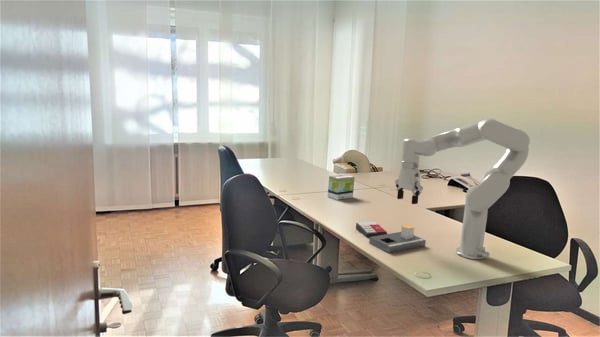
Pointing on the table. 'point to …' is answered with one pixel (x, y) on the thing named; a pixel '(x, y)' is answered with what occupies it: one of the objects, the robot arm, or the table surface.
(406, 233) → the plug
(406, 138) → the robot arm
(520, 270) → the table surface
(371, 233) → the calculator
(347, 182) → the tea box
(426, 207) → the table surface
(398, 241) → the port panel
